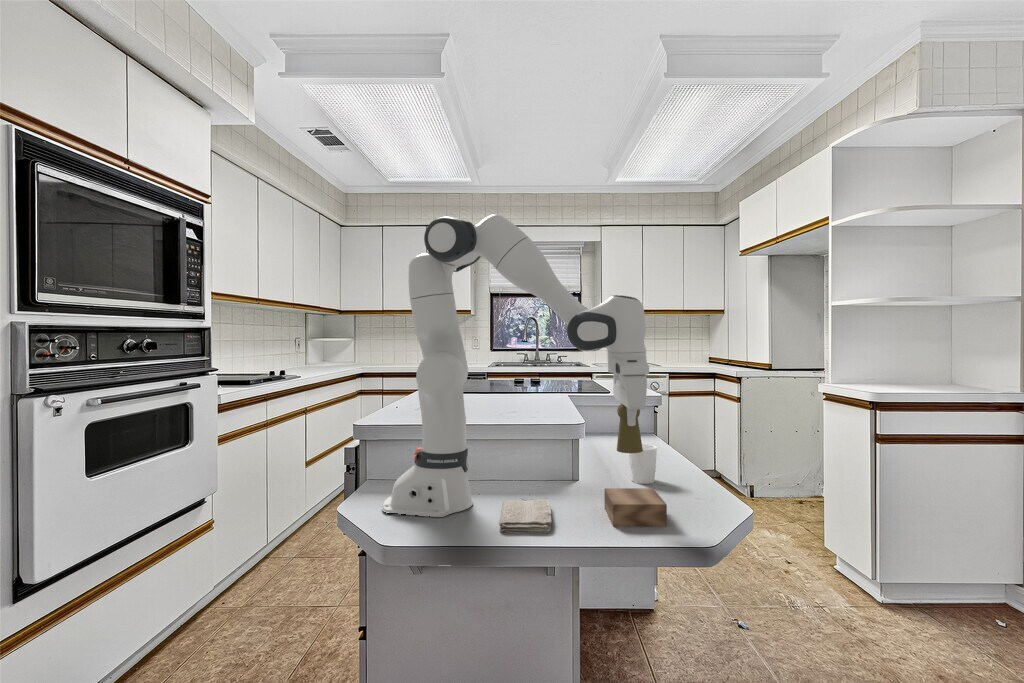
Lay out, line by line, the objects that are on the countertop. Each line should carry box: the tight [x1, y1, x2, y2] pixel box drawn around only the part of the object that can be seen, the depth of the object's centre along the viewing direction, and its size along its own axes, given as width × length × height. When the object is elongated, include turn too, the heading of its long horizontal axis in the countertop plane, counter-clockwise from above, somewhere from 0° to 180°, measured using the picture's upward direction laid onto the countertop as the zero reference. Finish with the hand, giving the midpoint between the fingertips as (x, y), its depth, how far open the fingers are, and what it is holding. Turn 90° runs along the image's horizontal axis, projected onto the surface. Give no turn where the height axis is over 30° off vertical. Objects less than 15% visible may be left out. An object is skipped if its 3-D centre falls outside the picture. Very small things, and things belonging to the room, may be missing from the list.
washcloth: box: [498, 499, 552, 534], centre depth 125 cm, size 12×18×3 cm, turn 179°
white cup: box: [628, 443, 658, 485], centre depth 155 cm, size 8×8×10 cm
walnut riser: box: [604, 487, 668, 528], centre depth 125 cm, size 12×12×5 cm
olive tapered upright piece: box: [616, 404, 643, 454], centre depth 125 cm, size 6×6×11 cm
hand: (628, 423), depth 125 cm, fingers closed on olive tapered upright piece, 4 cm apart
